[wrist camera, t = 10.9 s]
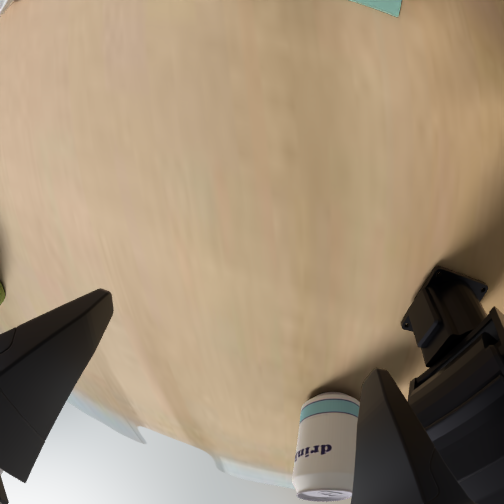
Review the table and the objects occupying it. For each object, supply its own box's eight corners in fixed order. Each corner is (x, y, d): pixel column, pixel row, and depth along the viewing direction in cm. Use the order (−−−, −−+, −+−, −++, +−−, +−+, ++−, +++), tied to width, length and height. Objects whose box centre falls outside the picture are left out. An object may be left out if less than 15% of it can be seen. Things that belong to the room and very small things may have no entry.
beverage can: (335, 378, 28) (330, 484, 18) (371, 401, 29) (374, 494, 19) (289, 401, 31) (274, 494, 21) (328, 421, 33) (320, 504, 22)
